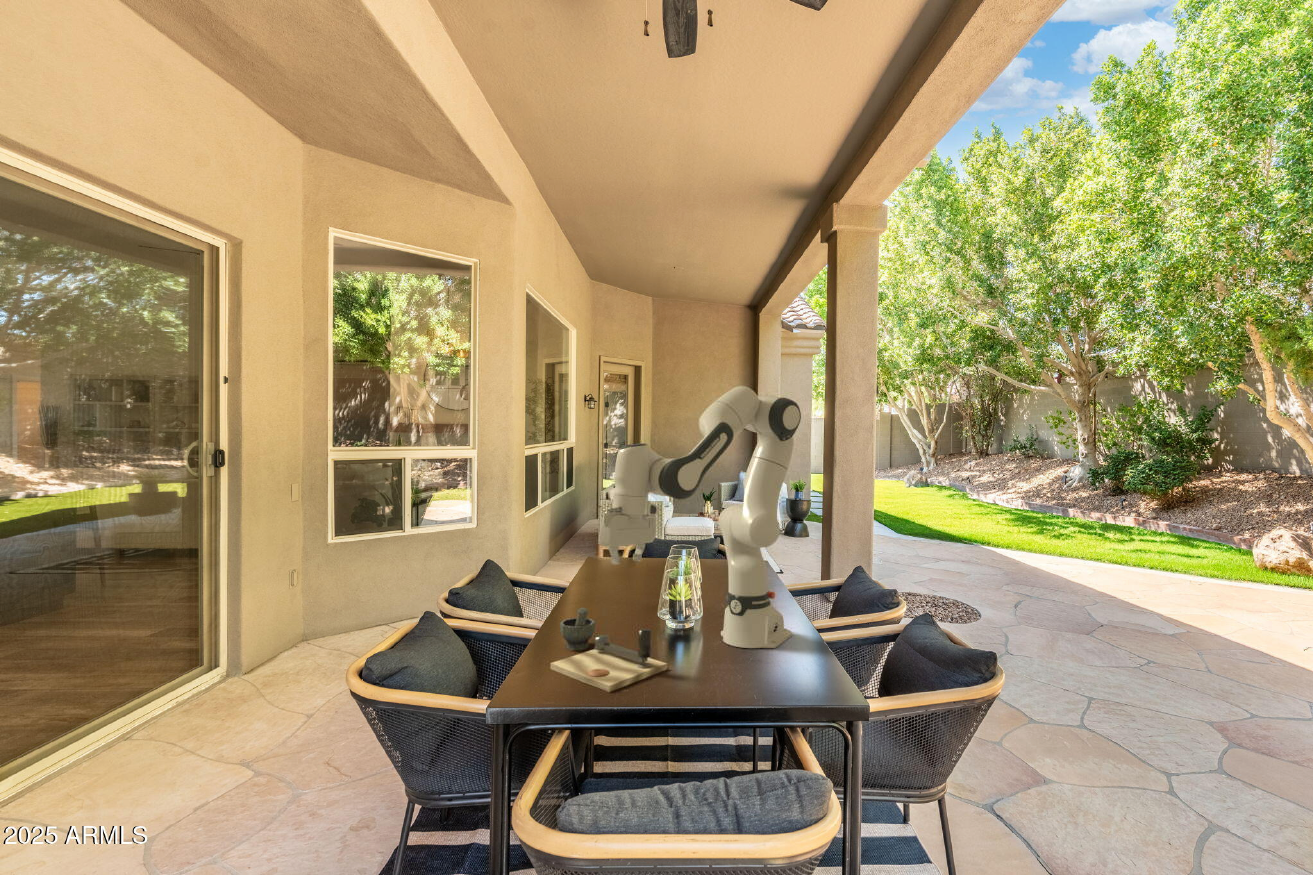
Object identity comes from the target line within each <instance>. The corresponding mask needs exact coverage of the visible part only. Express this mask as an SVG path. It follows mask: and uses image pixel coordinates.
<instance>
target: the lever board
mask: <svg viewBox="0 0 1313 875" xmlns="http://www.w3.org/2000/svg"><path fill="white" fill-rule="evenodd" d="M549 664H550V670H552V671H554V672H557V673H560V674H561V675H563V676H564V675H565V676H566V677H570V678H572V679H575V680H577V681H580V682H582V683H585V684H587V685H590V686H593V687H594V688H598V689H600V690H603V691H605V692H608V693H610V692H613V691H616V690H618V689H621V688H623V687H626V686H628V685H631V684H634V683H635V682H638V681H639V682H640V681H641V680H643V679H646V678H649V677H651V676H654V675H656V674H659V673H661V672H664V671H666V670H667V669H668V663H667V662H663V661H661V660H657V659H655V658H654V659H653V658H651V657H649V658H648V661H646V662H643V663H641V662H638V661H635V660H632V659H629V658H626V657H623V656H620V655H617V654H614V653H611V652H608V651H604V650H596V649H595V648H594V649H590V650H587V651H584V652H581V653H578V654H576V655H572V656H569V657H566V658H562V659H560V660H559V659H558V660H556V661H553V662H550V663H549Z"/></svg>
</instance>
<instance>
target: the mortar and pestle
mask: <svg viewBox="0 0 1313 875" xmlns="http://www.w3.org/2000/svg"><path fill="white" fill-rule="evenodd" d="M588 613H589V611H588V609H587V608H585V607H581V608H580V607H579V609H578V610H577V617H572V618H567V619H563V620H562V621H561V622H559V628H560V629H559V631H560V634H561V636H562V638H563V639H564V640H565V642H566V649H568V650H571V651H582V650H587V647H588V648H589V647H590V646H589V645H590V644H589V640H590V639H591V638H592V637H593V635H594V633H595V629H596V621H595V620H593V619H592V618H587V615H588Z"/></svg>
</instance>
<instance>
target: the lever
mask: <svg viewBox="0 0 1313 875" xmlns="http://www.w3.org/2000/svg"><path fill="white" fill-rule="evenodd" d="M637 633H638V635H637V636H638V637H637V638H638V639H637V640H638V646H637V647H638V649H637V650H638V651H637V650H633V649H629V648H627V647H624V646H620V645H618V644H614V643H610V635H608V634H603V633H602V634H596V635H594V649H596V650H604V651H608V652H611V653H614V654H617V655H620V656H623V657H626V658H629V659H632V660H635V661H638V662H641V663H643V662H646V661H648V658H651V657H652V629H650V628H647V627H646V628H645V627H643V628H639V629H638V632H637Z"/></svg>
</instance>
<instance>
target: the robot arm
mask: <svg viewBox="0 0 1313 875" xmlns="http://www.w3.org/2000/svg"><path fill="white" fill-rule="evenodd" d="M698 419H699V420H698V428H699V431H700V434H701V435H702V437H703V438H702V439H700V441H699V442H698V443H697V444H696V445H695V447H694V448H693V449H692V450H691V451H690V452H689V453H687V454H686V455H684V456H681V457H677V458H666V457H664V456H661V455H660V454H658V453H657V452H655V451H654V450H653V449H651V448H650V446H649V445H648V444H647V443H642V442H640V443H631V444H624V445H622V446H621V447H620V448H619V449H618V451H617V455H616V458H615V459H616V460H615V468H614V482H615V485H614V486H615V487H614V491H613V493H612V494H613V495H612V507H608V508H607V510H606V511H605V512H604V513H603V514H604V515H603V517H602V519H601V523H600V530H599V536H598V542H599V545H601V546H603V547H604V546H605V547H608V552H609V553H610V554H609V555H610V556H611V558H610V564H612V565H615V566H616V565H620V564H621V558H622V557H621V556H619V552H618V551H619V550H620V546H628V545H629V546H631V545H635V547H636V548H635V551H634V553H632V561H633V562H641V561H642V559H643V558H642V555H643V553H644V550H645V548H646V544H650V543H653V542H654V540H655V539H656V532H657V517H656V515H657V514H658V512H659V509H658V506H657V505H656V504H654V503H653V502H651V501H650V500H649V494H653V495H656V496H663V497H669V498H673V499H675V500H685V499H686V500H687V499H689V498H691V497H692V496H693V495H694V494H695V493H696V492H697V491H698V489H699V487H700V485H701V483H702V481H703V478H704V477H705V475H706V474H707V472H708V471H709V470H710V468H712V466H713V465H714V464H715V463H716V461H717V460H719V458H720V457H721V456H722V455H723V454H724V453H725V451H726V450H727V449H728V448H729V447H730V446H731V444H732V442H733V440H734V439H735V437H737V436H738V435H739V434H740V433H741V432H742V431H747V432H754V433H757V436H758V442H757V444H756V445H755V447H754V450H753V453H752V456H751V458H750V461H749V464H748V466H747V469H746V472H745V474H744V478H743V480H742V481H743V482H742V483H743V489H744V492H743V502H742V504H734V505H731V506H727V507H725V508H724V509H723V510H722V511H721V512H720V514H719V516H718V521H717V523H718V525H717V526H718V527H719V530H720V532H721V535H722V538H723V544H724V550H725V553H726V559H727V566H728V567H727V568H728V574H727V575H728V591H727V592H726V604H727V607H726V608H725V609H724V617H723V618H724V619H723V630H721V631H720V635H721V637H722V642H724V643H725V644H727V645H730V646H732V647H736V648H737V647H738V648H744V649H745V648H746V649H761V648H762V649H763V648H764V649H775V648H777V647H779V646H780V645H781V644H783V643H784V642H785V641H786V640H788V639H789V638H791V636H793V632H792V631H791V630H789V629H787V628H785V622H784V616H783V614H782V613H781V612H780V611H778V610H777V609H776V608H775V607H774V606H773V605H772V604H771V600H773V599H775V596H776V593H775V591H769V590H767V589H768V572H767V570H768V568H767V563H766V561H765V559H764V557H763V554H762V550H761V549H762V548H768V547H771V546H773V545H774V544H775V543H776V541H777V540H778V538H779V536H780V524H779V521H778V509H779V508H778V505H779V498H780V494H781V490H782V487H783V484H784V481H785V479H786V475H787V472H788V469H789V467H790V463H791V460H792V455H793V449H794V443H795V442H794V437H793V436H794V435H795V433H796V432H797V429H798V428H799V426H800V423H801V419H802V412H801V409H800V406H799V404H798V403H797V402H796V401H795V400H792V399H791V398H787V397H779V396H774V395H758V394H757V393H756V392H755V391H754V390H753V389H751V388H750V387H748V386H745V385H737V386H736V387H735V386H734V387H733V388H731V389H730V390H729V391H727V392H725V393H724V394H722V395H721V396H720V397H718V398H717V399H715V401H713V402H712V403H711V404H710V405H709V406H708V407H707V408H706V409H705V410H704V412H702V414H701V415H700V417H699V418H698Z"/></svg>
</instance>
